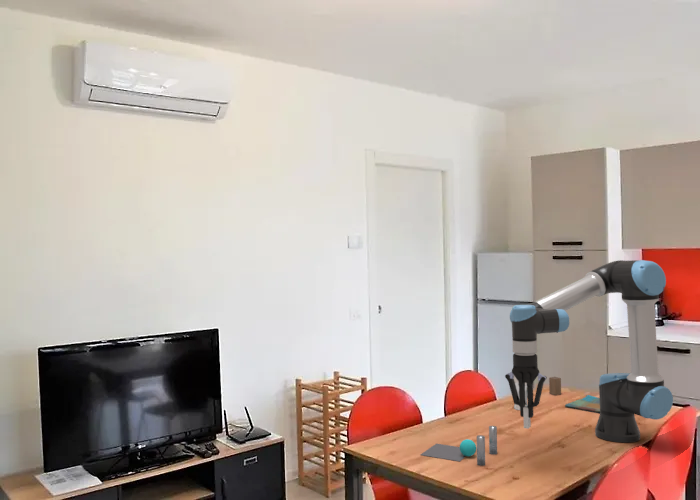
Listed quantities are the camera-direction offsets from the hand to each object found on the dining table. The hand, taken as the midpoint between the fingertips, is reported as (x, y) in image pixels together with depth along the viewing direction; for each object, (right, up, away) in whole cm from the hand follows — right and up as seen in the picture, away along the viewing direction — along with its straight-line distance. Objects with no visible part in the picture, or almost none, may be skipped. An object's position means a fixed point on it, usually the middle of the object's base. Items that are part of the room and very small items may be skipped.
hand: (527, 427), depth 196 cm
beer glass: (+18, -13, +72) cm, 75 cm away
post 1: (-15, -12, +1) cm, 19 cm away
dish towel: (+51, -13, +75) cm, 92 cm away
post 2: (-8, -12, +12) cm, 19 cm away
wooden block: (+42, -13, +98) cm, 107 cm away
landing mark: (-23, -13, +14) cm, 30 cm away
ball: (-17, -10, +9) cm, 22 cm away
